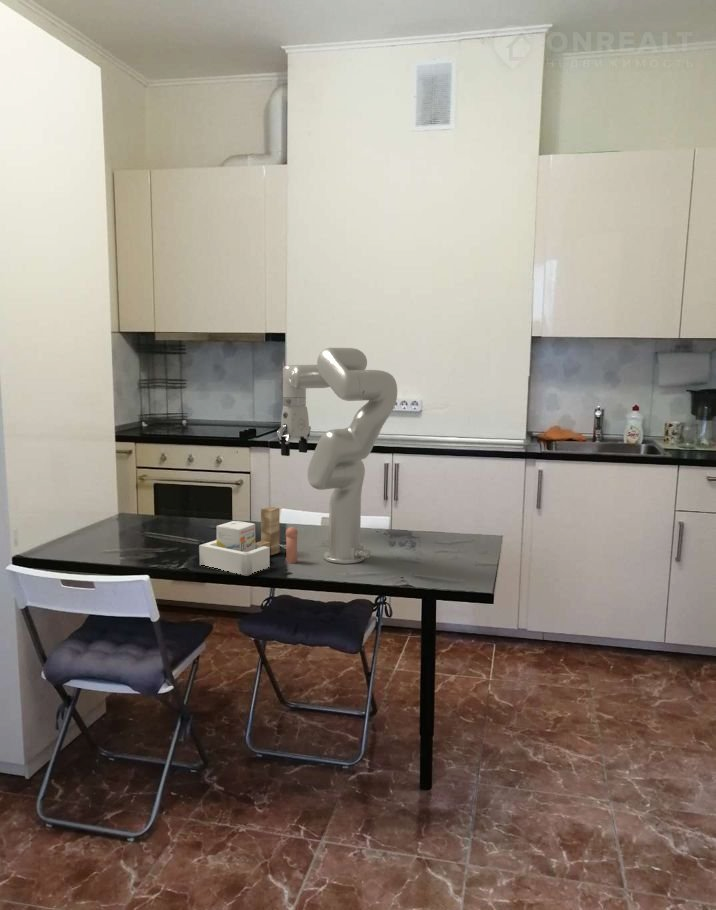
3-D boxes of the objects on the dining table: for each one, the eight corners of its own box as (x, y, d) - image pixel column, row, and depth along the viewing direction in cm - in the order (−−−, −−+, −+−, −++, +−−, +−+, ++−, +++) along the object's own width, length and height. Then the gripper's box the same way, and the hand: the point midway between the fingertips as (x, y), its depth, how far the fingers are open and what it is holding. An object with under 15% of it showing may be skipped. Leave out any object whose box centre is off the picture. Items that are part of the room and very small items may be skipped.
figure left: (300, 561, 217) (300, 526, 215) (292, 564, 214) (292, 529, 212) (290, 559, 219) (290, 525, 217) (283, 562, 216) (283, 527, 214)
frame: (269, 567, 210) (269, 547, 210) (247, 575, 202) (246, 555, 201) (222, 557, 220) (222, 538, 219) (199, 565, 211) (199, 545, 211)
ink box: (239, 568, 209) (239, 529, 207) (215, 564, 213) (215, 525, 211) (256, 561, 216) (256, 523, 215) (233, 557, 220) (233, 519, 218)
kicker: (287, 553, 224) (287, 509, 222) (264, 562, 215) (264, 516, 213) (261, 548, 229) (261, 505, 227) (238, 556, 220) (238, 511, 218)
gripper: (287, 404, 229) (287, 458, 232) (318, 401, 244) (318, 452, 246) (268, 403, 233) (269, 456, 236) (300, 400, 248) (300, 450, 250)
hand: (294, 453), depth 241 cm, fingers open, 9 cm apart
